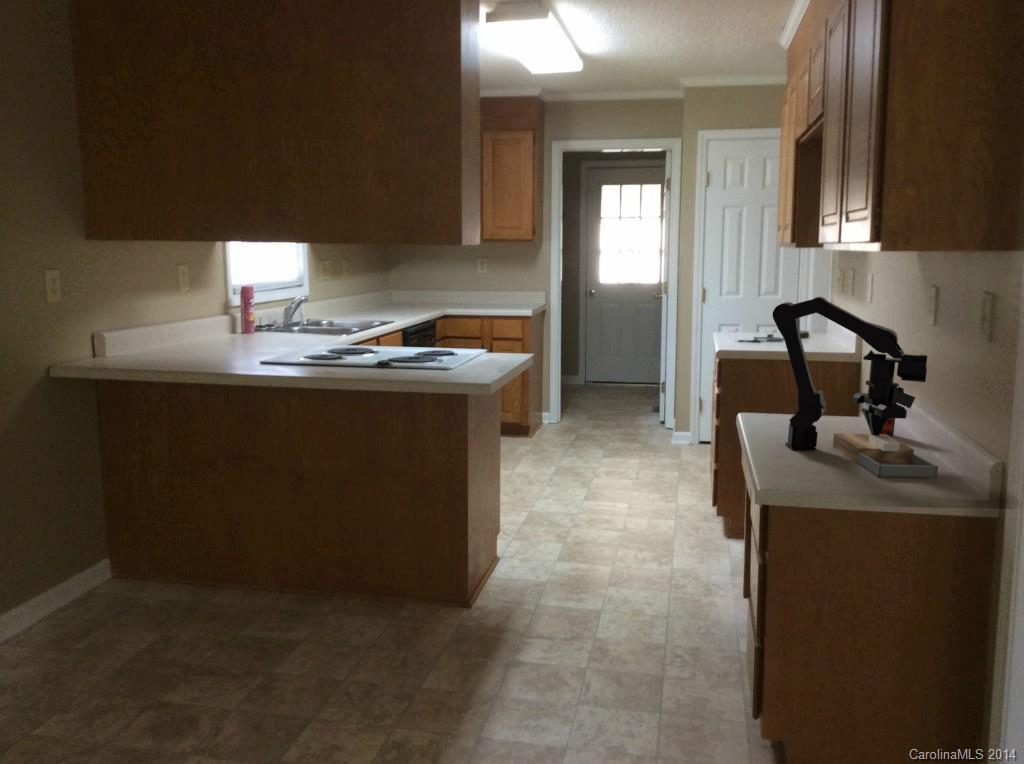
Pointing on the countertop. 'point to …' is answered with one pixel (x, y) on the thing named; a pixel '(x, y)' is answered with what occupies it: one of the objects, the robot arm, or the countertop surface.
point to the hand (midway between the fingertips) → (875, 438)
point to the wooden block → (870, 449)
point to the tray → (899, 468)
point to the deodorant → (889, 424)
